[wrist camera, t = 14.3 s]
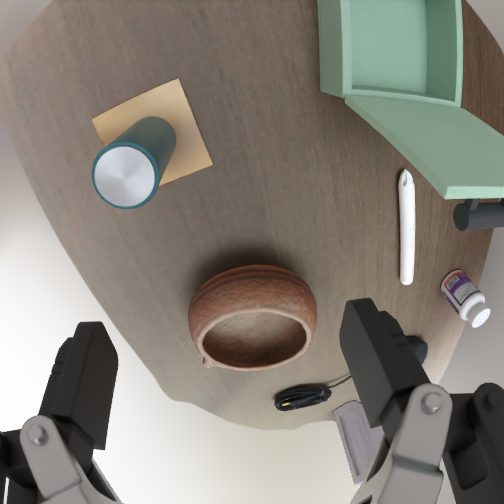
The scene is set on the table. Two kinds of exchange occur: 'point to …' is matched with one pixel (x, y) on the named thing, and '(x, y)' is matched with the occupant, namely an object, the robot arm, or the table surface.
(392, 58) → the cool box
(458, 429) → the robot arm
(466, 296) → the pill bottle
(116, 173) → the can
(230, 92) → the table surface
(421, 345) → the computer mouse
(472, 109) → the table surface
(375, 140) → the table surface
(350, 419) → the game console
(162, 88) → the coaster
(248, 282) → the bowl
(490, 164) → the cool box lid
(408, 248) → the marker
